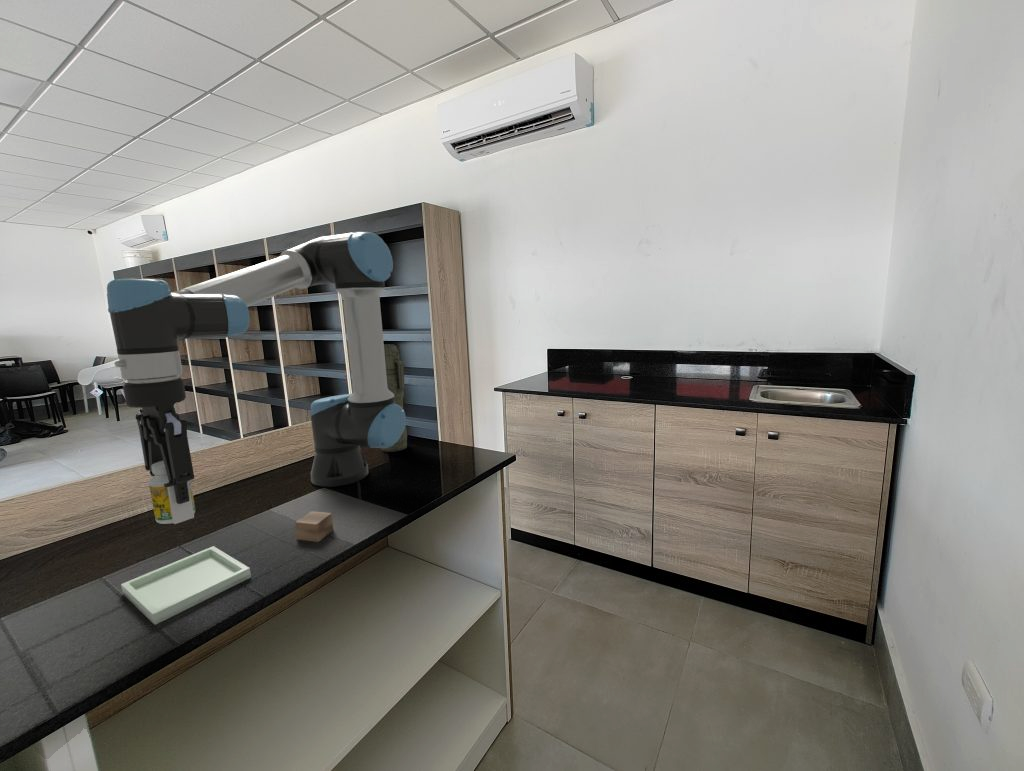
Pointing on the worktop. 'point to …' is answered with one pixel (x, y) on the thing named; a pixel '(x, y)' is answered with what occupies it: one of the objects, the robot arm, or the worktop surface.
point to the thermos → (395, 388)
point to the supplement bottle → (162, 494)
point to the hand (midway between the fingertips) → (176, 515)
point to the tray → (184, 583)
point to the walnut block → (314, 526)
